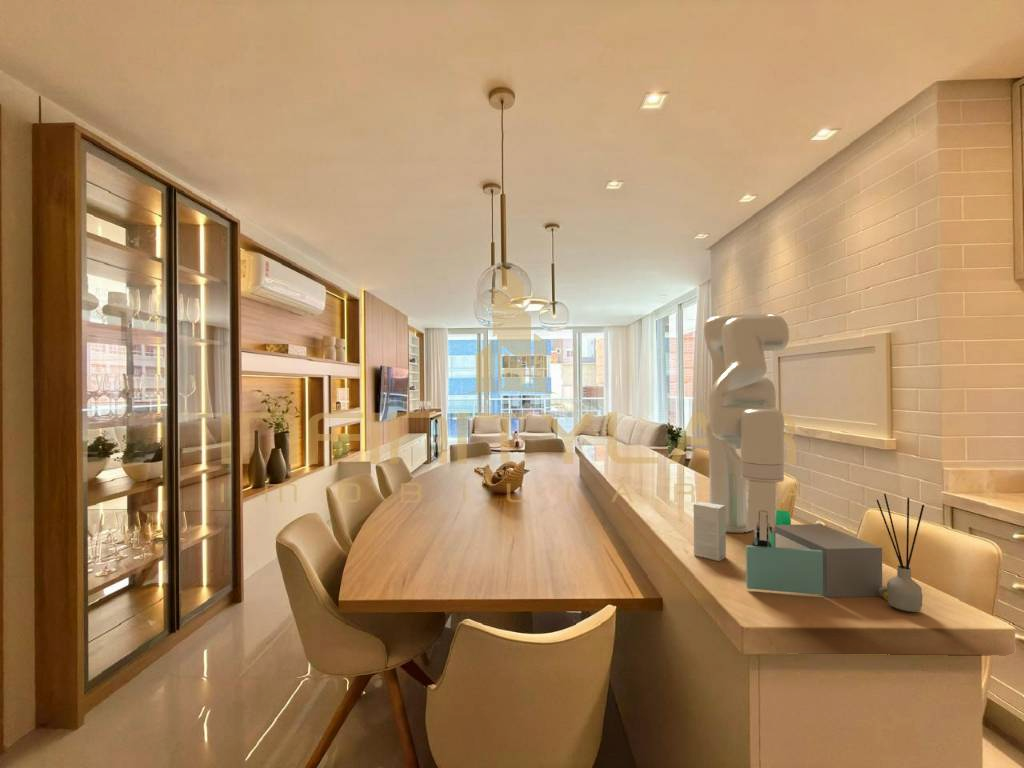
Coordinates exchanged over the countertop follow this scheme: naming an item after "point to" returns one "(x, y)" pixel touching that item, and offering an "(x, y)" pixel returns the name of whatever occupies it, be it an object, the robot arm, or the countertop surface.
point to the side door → (784, 569)
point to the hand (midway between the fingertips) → (761, 564)
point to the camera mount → (780, 522)
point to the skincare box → (709, 531)
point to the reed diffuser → (902, 574)
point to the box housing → (837, 558)
